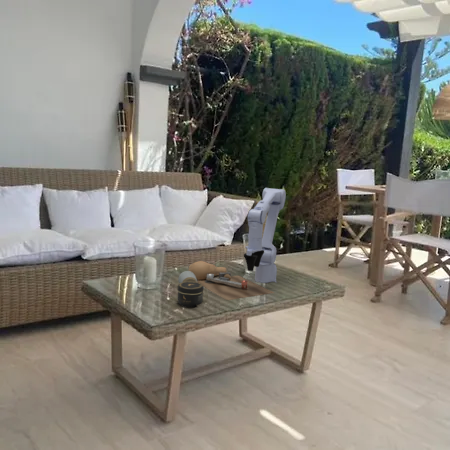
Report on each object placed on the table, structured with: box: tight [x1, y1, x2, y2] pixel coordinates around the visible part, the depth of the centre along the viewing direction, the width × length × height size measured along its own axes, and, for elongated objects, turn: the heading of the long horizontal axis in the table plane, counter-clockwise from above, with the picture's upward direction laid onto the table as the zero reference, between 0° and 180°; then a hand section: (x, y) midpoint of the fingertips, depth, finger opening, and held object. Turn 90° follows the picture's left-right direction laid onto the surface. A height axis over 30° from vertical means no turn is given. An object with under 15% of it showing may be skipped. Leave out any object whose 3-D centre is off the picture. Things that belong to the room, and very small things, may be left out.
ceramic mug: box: [178, 270, 205, 290], centre depth 208 cm, size 11×8×8 cm
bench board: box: [197, 271, 275, 301], centre depth 213 cm, size 24×28×4 cm
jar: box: [177, 282, 204, 308], centre depth 192 cm, size 10×10×8 cm
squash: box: [187, 260, 228, 281], centre depth 227 cm, size 11×20×9 cm, turn 133°
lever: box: [205, 273, 248, 289], centre depth 215 cm, size 20×5×3 cm, turn 62°
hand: (253, 268), depth 210 cm, fingers open, 7 cm apart
